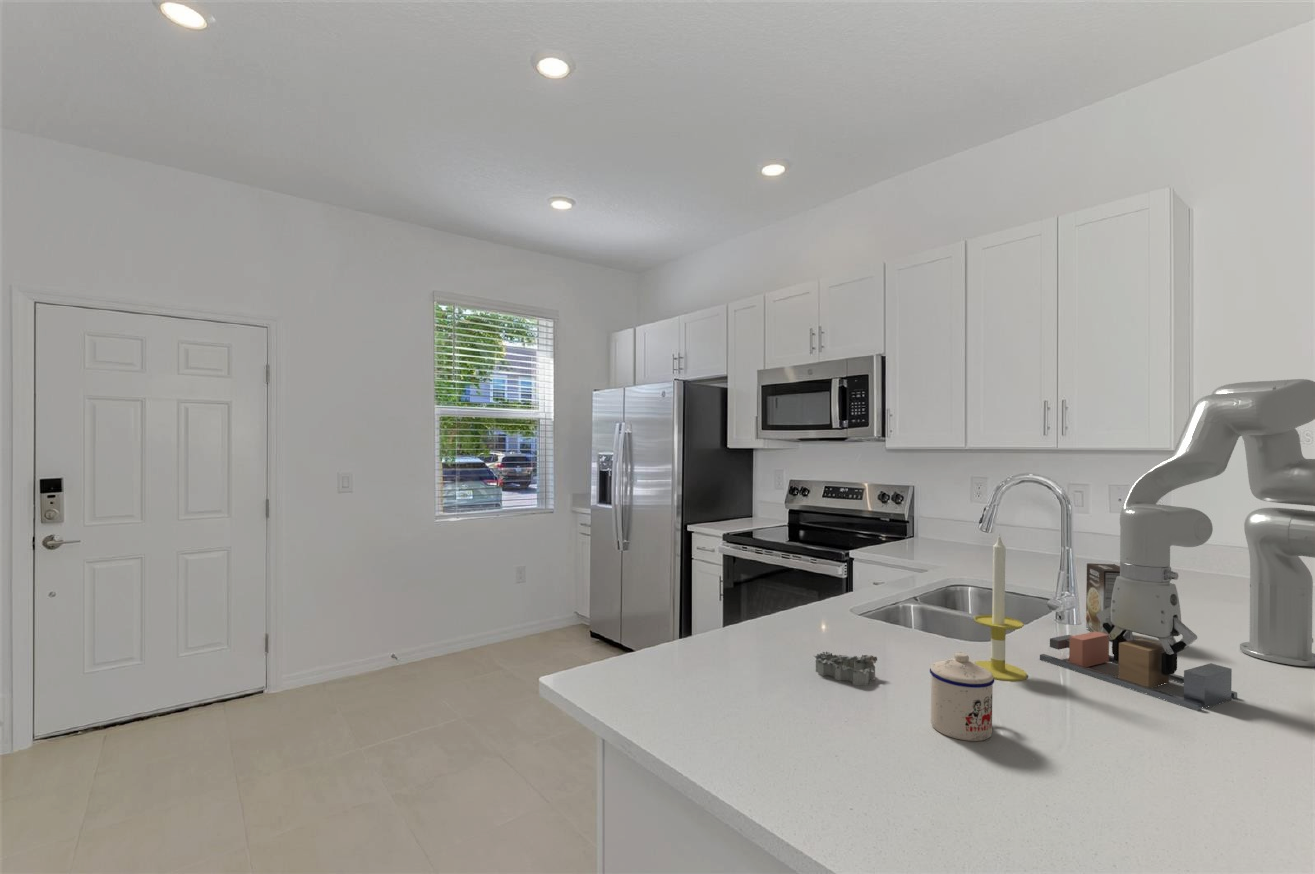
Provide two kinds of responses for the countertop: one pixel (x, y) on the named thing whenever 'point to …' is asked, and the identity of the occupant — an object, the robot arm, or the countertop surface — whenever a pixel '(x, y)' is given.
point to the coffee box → (1100, 594)
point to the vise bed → (1199, 682)
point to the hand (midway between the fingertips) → (1143, 666)
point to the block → (1141, 662)
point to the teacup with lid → (961, 699)
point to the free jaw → (1084, 648)
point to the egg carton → (846, 667)
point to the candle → (999, 623)
